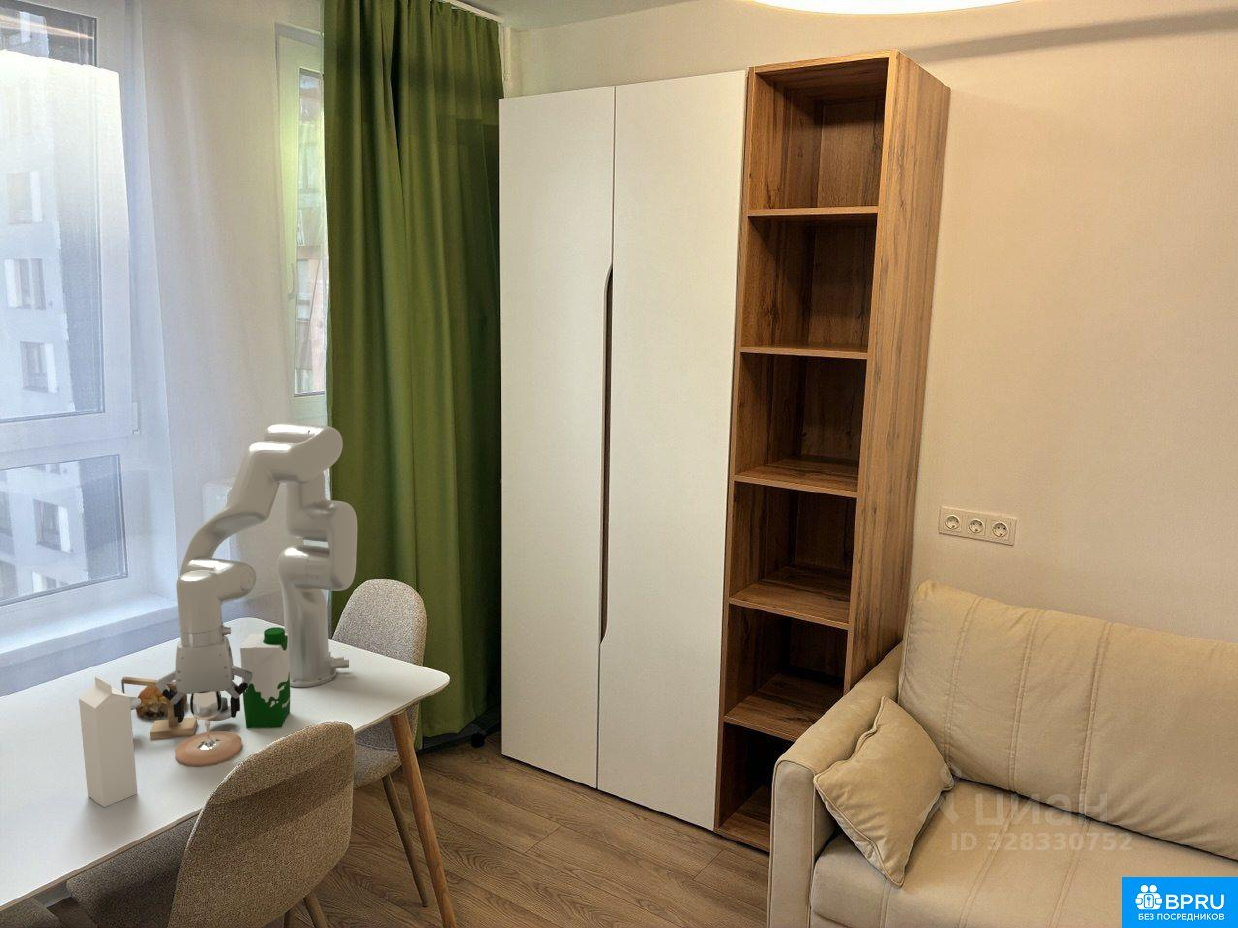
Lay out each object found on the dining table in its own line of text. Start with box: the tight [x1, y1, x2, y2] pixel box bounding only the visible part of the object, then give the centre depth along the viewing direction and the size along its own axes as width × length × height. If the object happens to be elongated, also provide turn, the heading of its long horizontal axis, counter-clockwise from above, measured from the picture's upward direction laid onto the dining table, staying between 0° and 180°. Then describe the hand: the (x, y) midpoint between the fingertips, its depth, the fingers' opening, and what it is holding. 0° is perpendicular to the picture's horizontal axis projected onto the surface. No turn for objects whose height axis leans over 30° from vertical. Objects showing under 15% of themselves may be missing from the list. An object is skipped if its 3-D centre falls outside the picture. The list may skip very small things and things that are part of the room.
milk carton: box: [239, 626, 291, 729], centre depth 195 cm, size 9×9×20 cm
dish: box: [174, 730, 243, 768], centre depth 184 cm, size 12×12×1 cm
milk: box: [78, 676, 138, 808], centre depth 166 cm, size 6×6×22 cm
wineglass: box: [189, 691, 223, 750], centre depth 183 cm, size 6×6×12 cm
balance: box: [120, 676, 232, 740], centre depth 190 cm, size 24×6×12 cm, turn 105°
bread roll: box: [135, 680, 188, 720], centre depth 201 cm, size 10×10×8 cm
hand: (208, 717), depth 183 cm, fingers open, 9 cm apart
